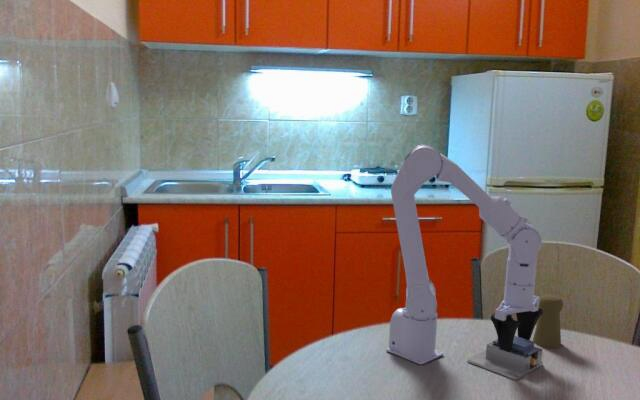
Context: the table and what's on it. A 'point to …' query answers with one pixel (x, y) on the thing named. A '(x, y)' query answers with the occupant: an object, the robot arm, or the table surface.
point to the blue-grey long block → (522, 347)
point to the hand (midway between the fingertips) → (514, 345)
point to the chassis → (506, 361)
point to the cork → (549, 322)
